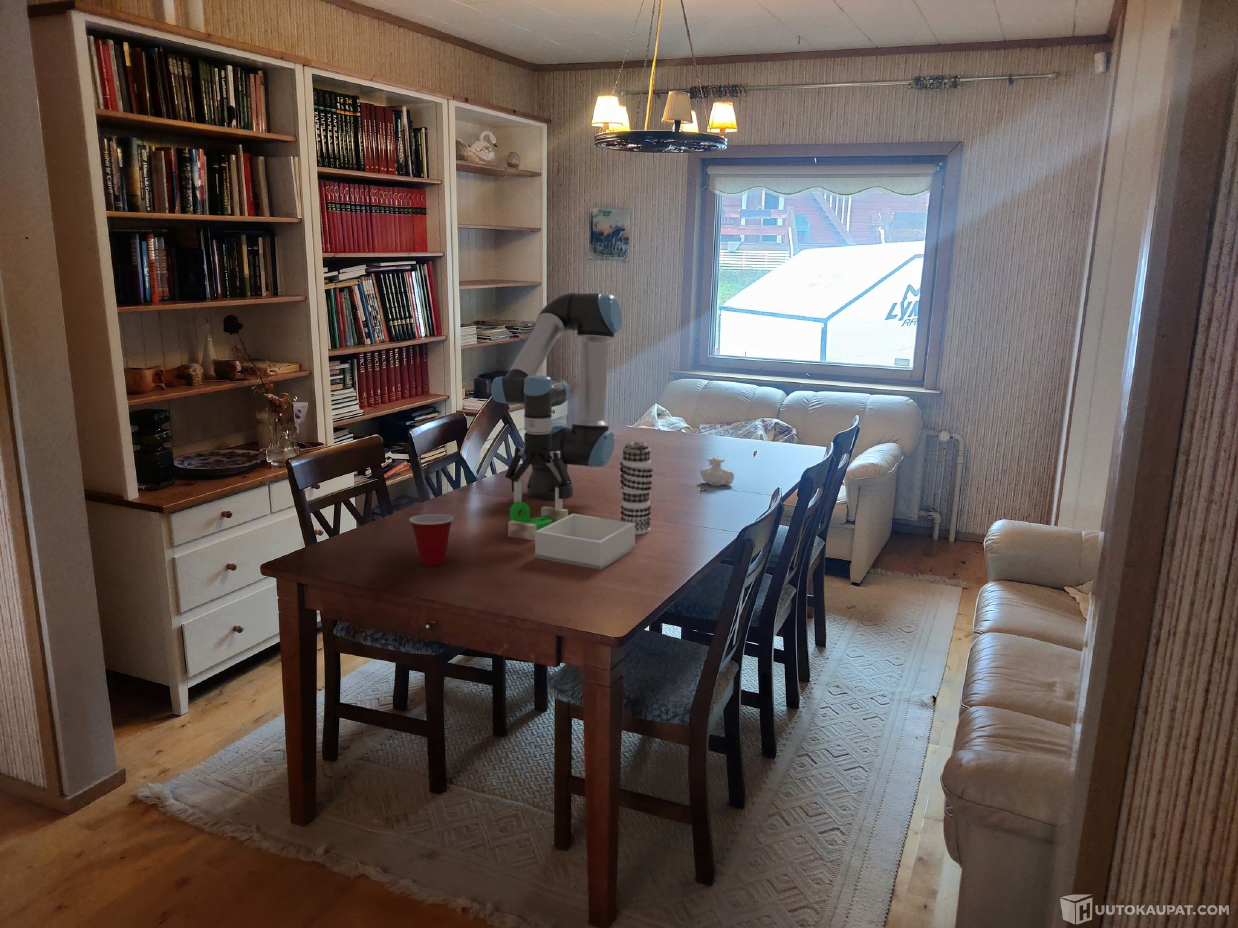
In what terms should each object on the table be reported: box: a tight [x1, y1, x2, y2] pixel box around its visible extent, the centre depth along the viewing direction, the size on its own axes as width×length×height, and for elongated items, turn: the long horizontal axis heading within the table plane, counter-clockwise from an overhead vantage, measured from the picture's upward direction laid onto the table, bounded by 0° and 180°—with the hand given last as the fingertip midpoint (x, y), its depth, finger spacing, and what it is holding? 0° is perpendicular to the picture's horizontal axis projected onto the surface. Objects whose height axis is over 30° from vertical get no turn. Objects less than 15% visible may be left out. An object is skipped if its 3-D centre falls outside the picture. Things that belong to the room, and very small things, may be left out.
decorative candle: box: [619, 441, 654, 535], centre depth 253 cm, size 9×9×25 cm
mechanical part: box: [509, 502, 552, 530], centre depth 256 cm, size 12×6×8 cm, turn 134°
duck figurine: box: [699, 455, 735, 487], centre depth 306 cm, size 12×8×11 cm
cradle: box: [507, 505, 569, 541], centre depth 255 cm, size 8×19×4 cm, turn 153°
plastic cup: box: [409, 513, 454, 567], centre depth 225 cm, size 11×11×12 cm
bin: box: [534, 513, 636, 571], centre depth 234 cm, size 19×19×7 cm
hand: (538, 506), depth 253 cm, fingers open, 13 cm apart
